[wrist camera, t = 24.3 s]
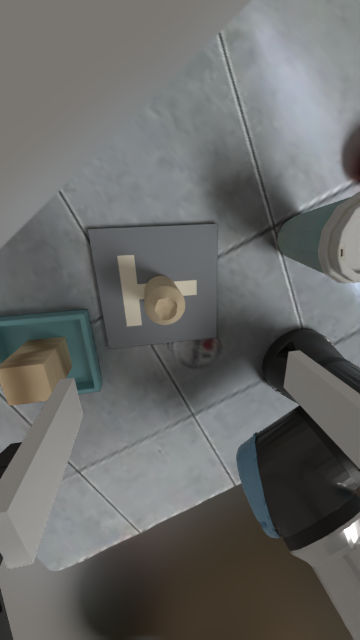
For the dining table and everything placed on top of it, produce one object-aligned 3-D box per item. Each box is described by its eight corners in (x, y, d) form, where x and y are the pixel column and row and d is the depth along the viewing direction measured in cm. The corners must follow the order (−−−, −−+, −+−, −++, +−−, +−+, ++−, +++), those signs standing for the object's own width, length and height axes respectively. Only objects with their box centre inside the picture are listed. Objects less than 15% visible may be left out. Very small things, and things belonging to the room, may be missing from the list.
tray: (87, 309, 38) (83, 314, 35) (102, 382, 43) (100, 391, 41) (-9, 317, 36) (-20, 323, 34) (19, 393, 41) (11, 402, 39)
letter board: (216, 224, 36) (218, 223, 35) (215, 335, 43) (216, 337, 42) (89, 229, 34) (87, 229, 33) (109, 347, 41) (109, 349, 40)
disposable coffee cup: (319, 196, 37) (424, 171, 23) (323, 259, 41) (415, 270, 27) (260, 216, 37) (330, 204, 23) (270, 278, 41) (335, 299, 27)
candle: (138, 285, 37) (136, 300, 27) (167, 269, 37) (175, 280, 27) (154, 312, 39) (157, 336, 30) (182, 298, 39) (194, 317, 29)
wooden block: (65, 336, 38) (43, 363, 30) (72, 366, 40) (54, 399, 32) (27, 340, 38) (-6, 369, 29) (37, 370, 40) (9, 405, 31)
